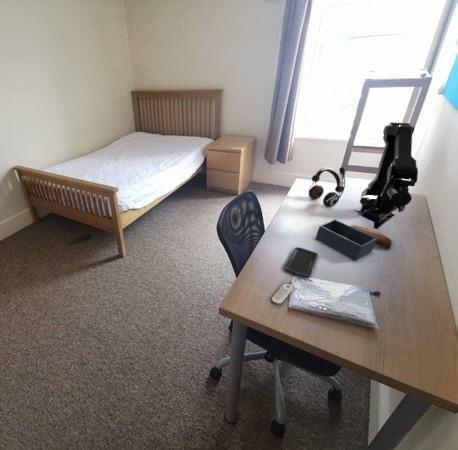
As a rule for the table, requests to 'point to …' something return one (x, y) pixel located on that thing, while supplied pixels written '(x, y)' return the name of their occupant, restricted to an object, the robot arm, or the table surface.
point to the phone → (301, 262)
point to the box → (346, 239)
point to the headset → (318, 190)
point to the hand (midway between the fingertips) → (375, 228)
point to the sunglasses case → (376, 236)
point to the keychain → (282, 294)
